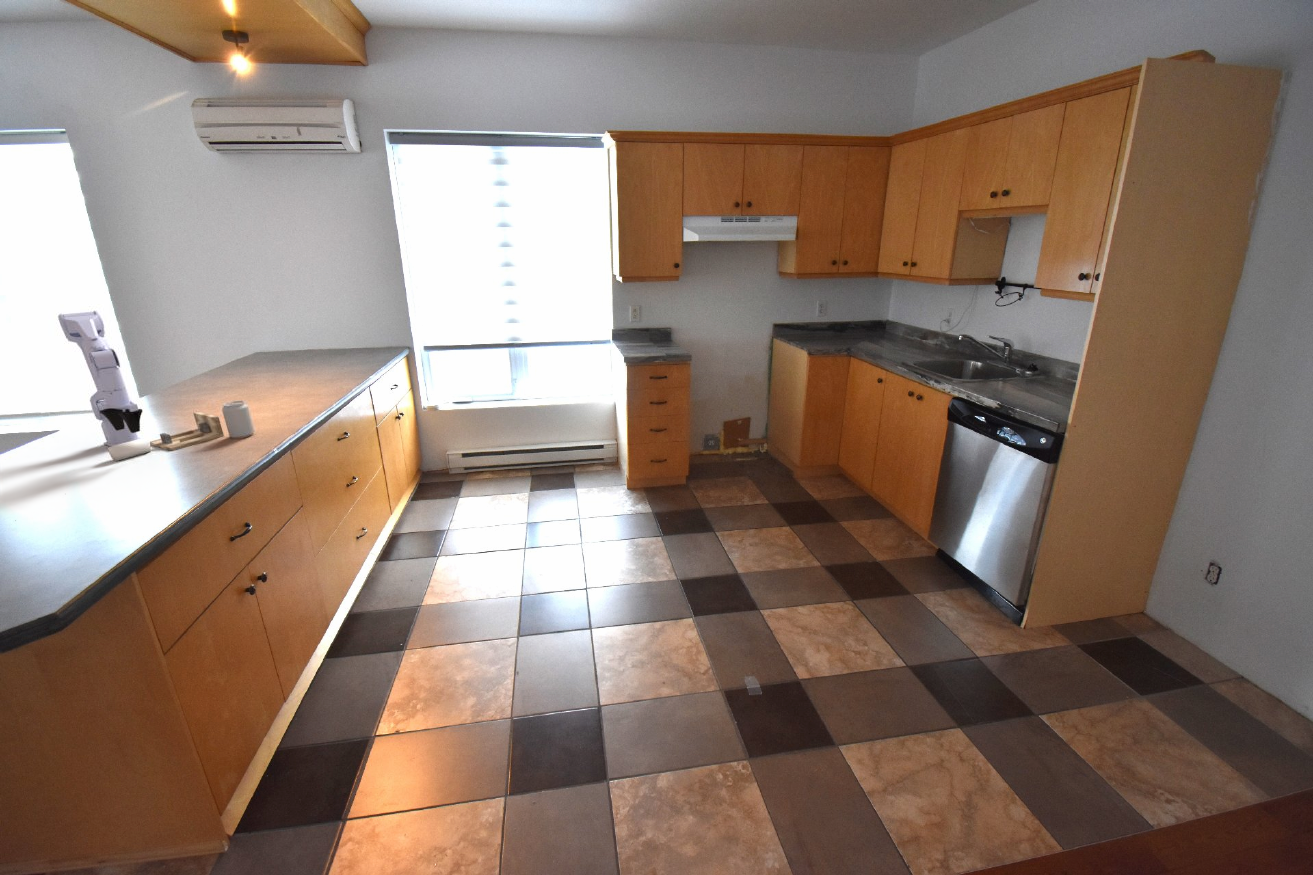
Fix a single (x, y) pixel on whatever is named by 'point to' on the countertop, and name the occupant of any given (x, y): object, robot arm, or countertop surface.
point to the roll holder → (192, 433)
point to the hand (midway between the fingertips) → (128, 430)
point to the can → (238, 419)
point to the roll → (129, 449)
